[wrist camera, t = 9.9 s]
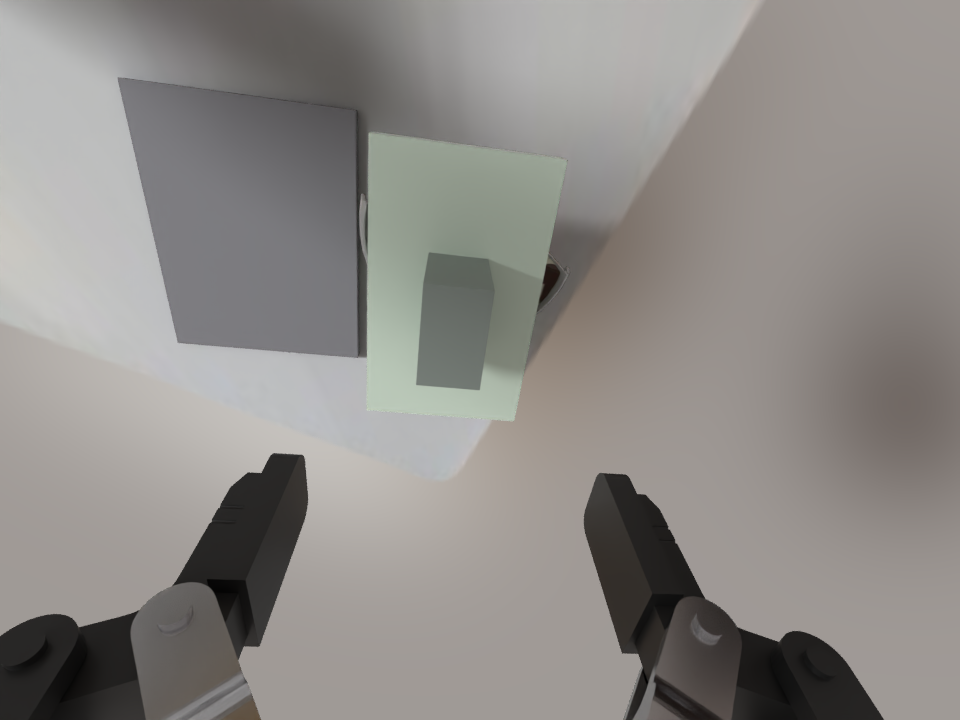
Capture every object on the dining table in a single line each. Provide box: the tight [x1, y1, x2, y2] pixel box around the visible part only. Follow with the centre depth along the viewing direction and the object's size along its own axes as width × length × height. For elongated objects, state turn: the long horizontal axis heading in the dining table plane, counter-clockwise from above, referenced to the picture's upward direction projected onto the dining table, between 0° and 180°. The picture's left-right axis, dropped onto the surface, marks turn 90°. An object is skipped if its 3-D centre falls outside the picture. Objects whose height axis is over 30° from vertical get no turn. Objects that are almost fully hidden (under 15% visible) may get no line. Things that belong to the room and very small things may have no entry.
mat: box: [118, 78, 359, 358], centre depth 32 cm, size 14×18×1 cm
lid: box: [367, 131, 568, 421], centre depth 22 cm, size 9×15×6 cm, turn 173°
